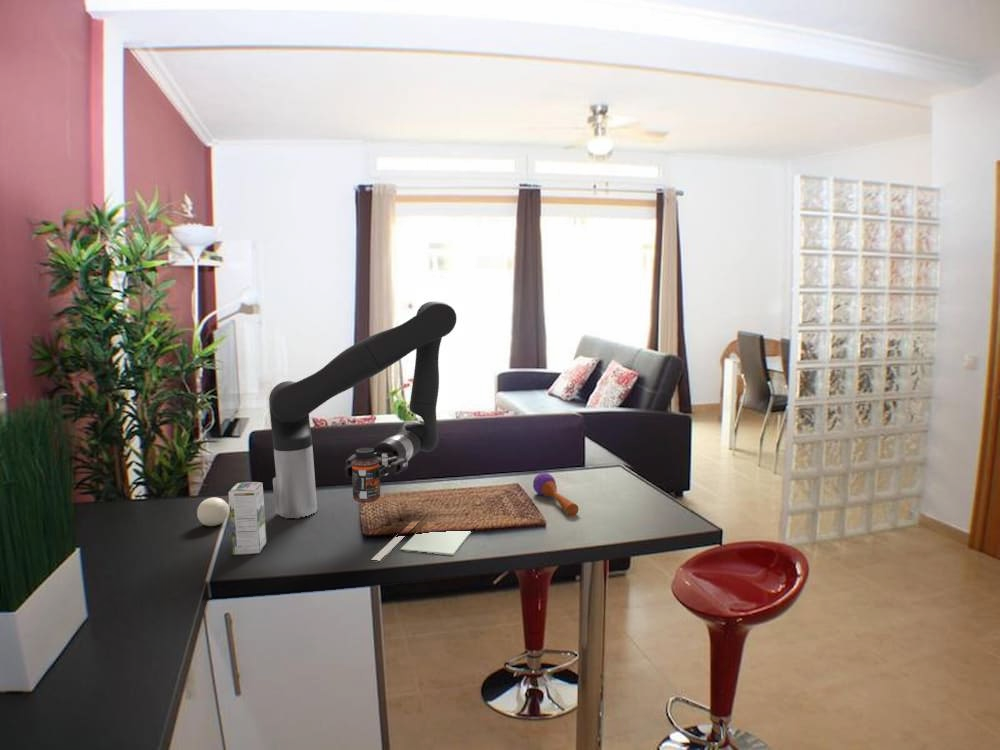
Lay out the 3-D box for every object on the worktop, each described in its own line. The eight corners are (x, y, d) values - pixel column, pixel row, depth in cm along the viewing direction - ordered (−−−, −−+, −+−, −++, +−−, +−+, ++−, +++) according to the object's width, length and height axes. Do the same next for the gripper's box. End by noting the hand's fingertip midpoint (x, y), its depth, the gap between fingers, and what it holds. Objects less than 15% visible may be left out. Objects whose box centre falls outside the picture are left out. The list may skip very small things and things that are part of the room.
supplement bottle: (368, 505, 142) (366, 454, 140) (347, 501, 145) (344, 451, 143) (386, 496, 147) (383, 448, 145) (365, 493, 150) (362, 444, 148)
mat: (400, 550, 141) (400, 548, 141) (427, 522, 157) (427, 521, 157) (453, 555, 138) (453, 553, 138) (475, 526, 153) (475, 525, 153)
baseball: (236, 520, 162) (234, 494, 161) (215, 531, 155) (212, 504, 154) (214, 517, 164) (212, 492, 163) (192, 528, 157) (189, 501, 156)
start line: (371, 560, 137) (371, 559, 137) (412, 521, 158) (412, 520, 158) (380, 561, 136) (380, 560, 136) (420, 522, 157) (420, 521, 157)
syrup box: (241, 544, 147) (235, 482, 145) (268, 543, 147) (262, 480, 145) (232, 555, 141) (226, 490, 139) (261, 553, 142) (255, 489, 139)
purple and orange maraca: (559, 503, 157) (527, 473, 175) (563, 524, 159) (531, 493, 177) (581, 495, 159) (548, 466, 177) (585, 517, 160) (551, 486, 179)
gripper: (364, 436, 160) (329, 455, 144) (420, 439, 156) (390, 459, 140) (366, 466, 161) (331, 488, 145) (420, 470, 157) (391, 493, 141)
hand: (360, 473), depth 143 cm, fingers closed on supplement bottle, 6 cm apart
